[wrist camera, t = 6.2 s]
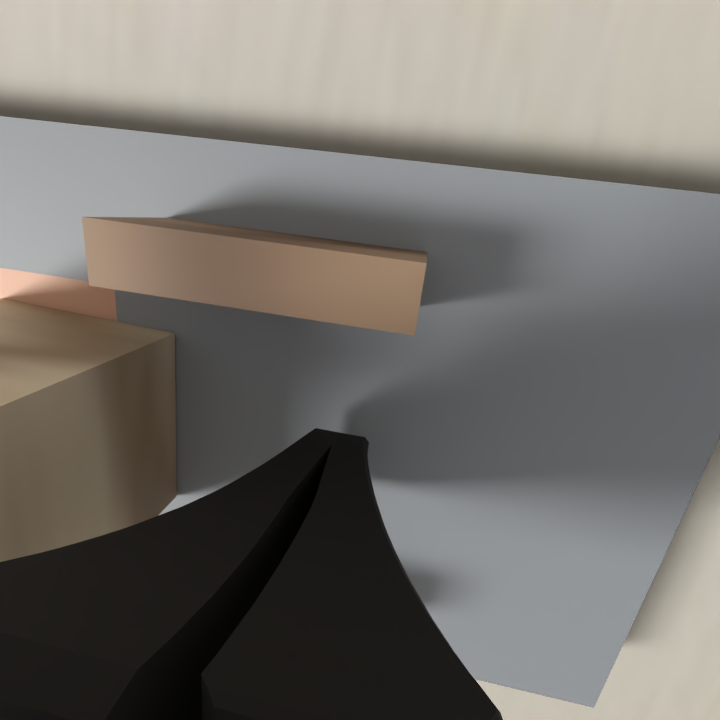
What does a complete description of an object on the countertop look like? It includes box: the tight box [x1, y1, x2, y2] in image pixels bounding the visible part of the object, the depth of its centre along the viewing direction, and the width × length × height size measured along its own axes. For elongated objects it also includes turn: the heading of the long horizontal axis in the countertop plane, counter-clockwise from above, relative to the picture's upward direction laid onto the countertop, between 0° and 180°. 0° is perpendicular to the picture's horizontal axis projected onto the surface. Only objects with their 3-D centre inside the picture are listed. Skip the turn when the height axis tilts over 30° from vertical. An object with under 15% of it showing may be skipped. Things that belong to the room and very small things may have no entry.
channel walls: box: [82, 217, 427, 336], centre depth 10 cm, size 6×10×2 cm, turn 173°
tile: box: [0, 268, 117, 321], centre depth 13 cm, size 6×7×2 cm
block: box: [0, 298, 177, 562], centre depth 9 cm, size 5×5×5 cm
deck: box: [0, 116, 720, 708], centre depth 12 cm, size 27×14×2 cm, turn 83°
